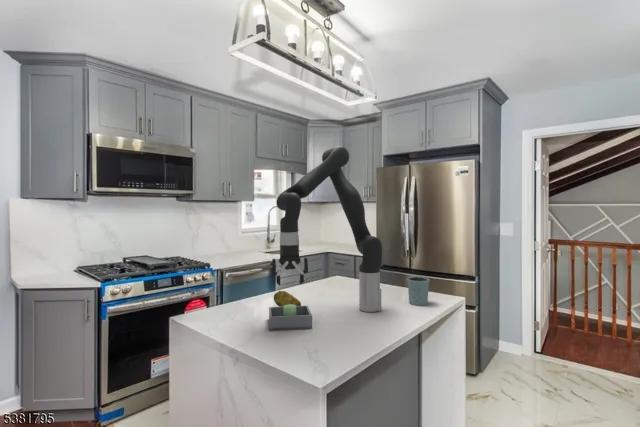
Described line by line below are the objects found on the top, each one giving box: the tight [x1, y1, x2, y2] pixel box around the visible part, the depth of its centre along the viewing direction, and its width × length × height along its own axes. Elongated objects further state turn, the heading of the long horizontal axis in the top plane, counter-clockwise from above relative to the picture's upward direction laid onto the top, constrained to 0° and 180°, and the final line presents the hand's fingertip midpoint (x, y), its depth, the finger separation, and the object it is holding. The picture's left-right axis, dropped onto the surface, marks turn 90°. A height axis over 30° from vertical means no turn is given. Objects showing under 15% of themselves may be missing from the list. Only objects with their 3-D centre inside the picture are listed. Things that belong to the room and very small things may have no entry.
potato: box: [273, 290, 302, 307], centre depth 162 cm, size 8×13×8 cm, turn 44°
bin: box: [268, 305, 313, 332], centre depth 143 cm, size 16×14×5 cm
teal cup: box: [407, 276, 430, 307], centre depth 172 cm, size 10×10×12 cm
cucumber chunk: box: [283, 304, 296, 316], centre depth 143 cm, size 5×5×6 cm
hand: (290, 284), depth 142 cm, fingers open, 8 cm apart
